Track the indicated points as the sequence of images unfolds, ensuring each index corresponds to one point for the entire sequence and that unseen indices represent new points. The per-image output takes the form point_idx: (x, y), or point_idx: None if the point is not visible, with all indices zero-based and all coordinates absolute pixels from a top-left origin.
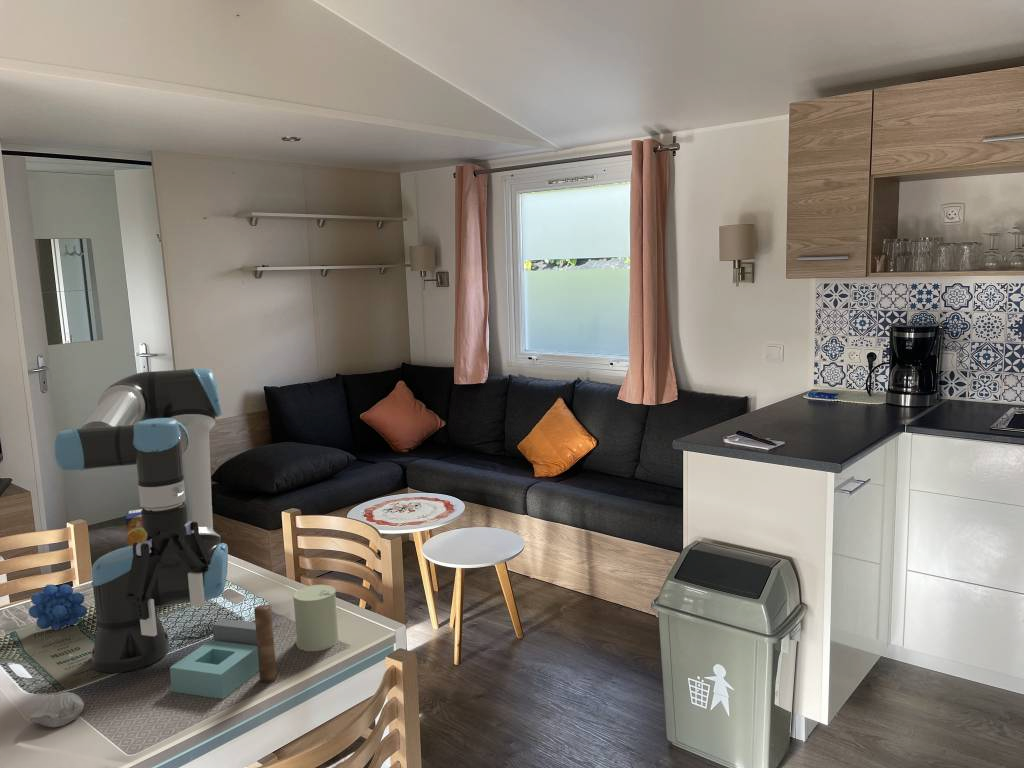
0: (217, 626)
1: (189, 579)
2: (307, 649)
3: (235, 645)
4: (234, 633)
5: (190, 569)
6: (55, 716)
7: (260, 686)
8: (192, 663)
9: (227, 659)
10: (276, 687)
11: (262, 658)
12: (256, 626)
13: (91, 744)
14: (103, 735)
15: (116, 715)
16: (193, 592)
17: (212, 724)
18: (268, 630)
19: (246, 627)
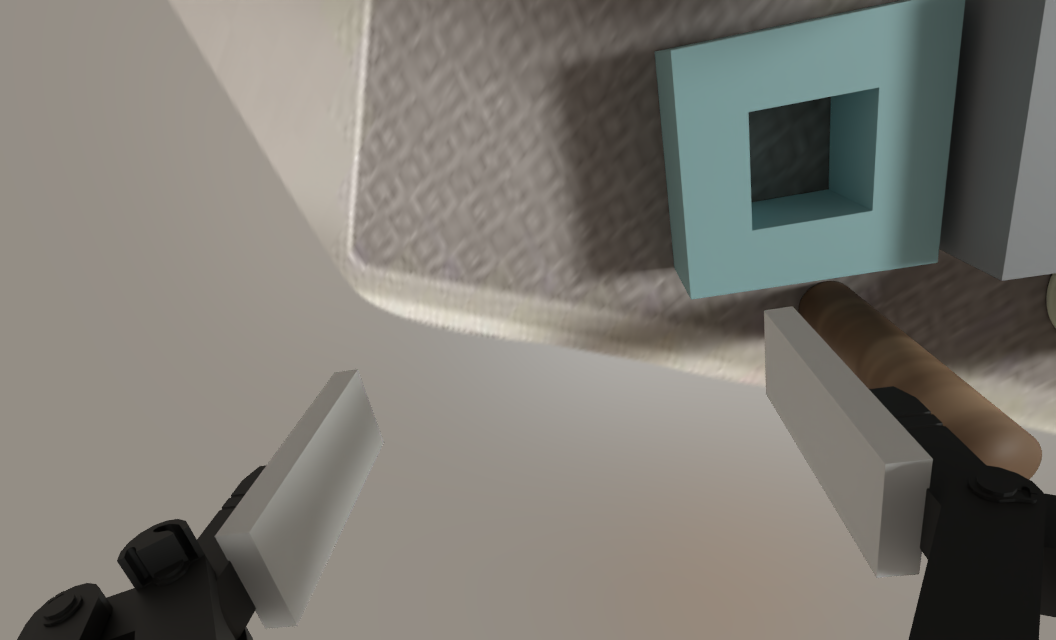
0: (1037, 14)
1: (852, 436)
2: (1053, 295)
3: (928, 162)
4: (1001, 125)
5: (947, 485)
6: None
7: None
8: (730, 120)
9: (801, 230)
10: None
11: (835, 351)
12: None
13: (315, 100)
14: (361, 87)
15: (453, 4)
16: (801, 395)
17: (555, 341)
18: None
19: (1027, 193)
